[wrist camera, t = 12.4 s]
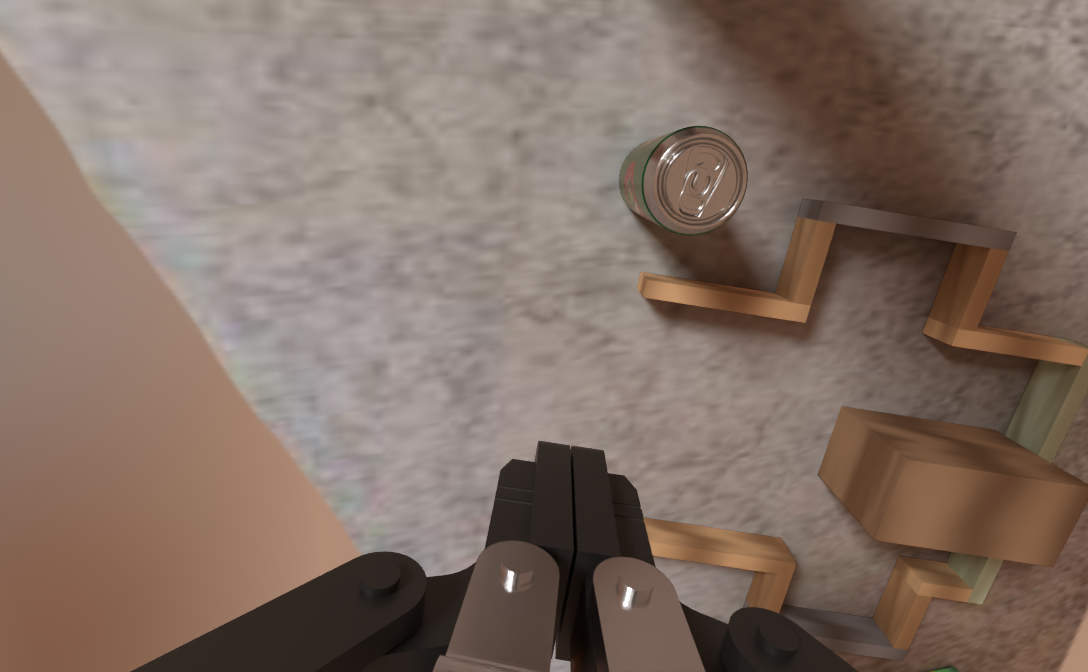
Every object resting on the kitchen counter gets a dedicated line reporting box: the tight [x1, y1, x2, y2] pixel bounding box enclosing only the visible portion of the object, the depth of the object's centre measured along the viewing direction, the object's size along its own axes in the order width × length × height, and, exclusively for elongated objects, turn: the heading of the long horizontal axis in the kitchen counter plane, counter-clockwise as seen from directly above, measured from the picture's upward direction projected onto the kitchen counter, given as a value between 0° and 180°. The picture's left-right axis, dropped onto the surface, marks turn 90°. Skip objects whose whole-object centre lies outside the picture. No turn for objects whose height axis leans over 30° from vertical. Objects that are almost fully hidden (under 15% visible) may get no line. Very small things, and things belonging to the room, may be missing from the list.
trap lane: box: [637, 199, 1088, 661], centre depth 40 cm, size 31×34×3 cm
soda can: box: [619, 126, 748, 235], centre depth 30 cm, size 5×5×12 cm
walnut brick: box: [818, 406, 1088, 567], centre depth 38 cm, size 12×6×8 cm, turn 81°
